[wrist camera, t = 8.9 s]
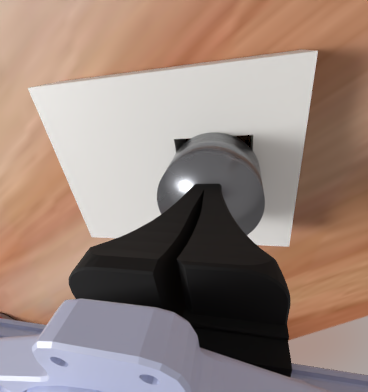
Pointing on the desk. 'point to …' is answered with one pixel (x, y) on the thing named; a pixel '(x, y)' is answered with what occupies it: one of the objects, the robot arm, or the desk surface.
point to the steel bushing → (217, 176)
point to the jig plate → (178, 133)
